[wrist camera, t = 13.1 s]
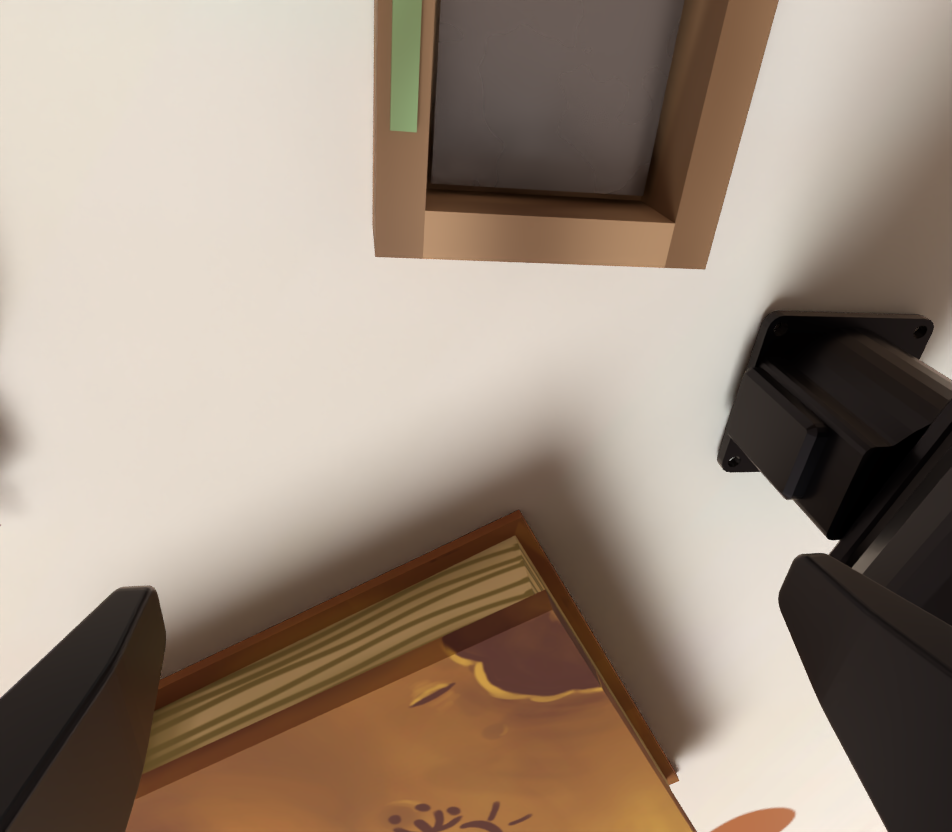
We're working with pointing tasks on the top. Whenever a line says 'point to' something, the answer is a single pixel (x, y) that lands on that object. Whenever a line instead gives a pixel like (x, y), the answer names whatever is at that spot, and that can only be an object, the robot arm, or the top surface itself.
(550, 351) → the top surface
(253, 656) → the diary
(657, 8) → the plate
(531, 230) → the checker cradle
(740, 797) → the top surface
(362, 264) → the top surface
